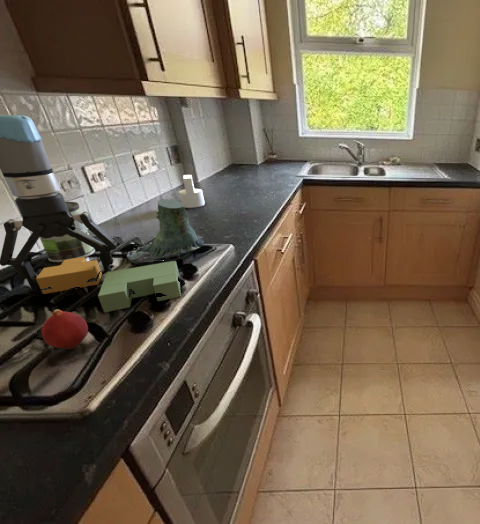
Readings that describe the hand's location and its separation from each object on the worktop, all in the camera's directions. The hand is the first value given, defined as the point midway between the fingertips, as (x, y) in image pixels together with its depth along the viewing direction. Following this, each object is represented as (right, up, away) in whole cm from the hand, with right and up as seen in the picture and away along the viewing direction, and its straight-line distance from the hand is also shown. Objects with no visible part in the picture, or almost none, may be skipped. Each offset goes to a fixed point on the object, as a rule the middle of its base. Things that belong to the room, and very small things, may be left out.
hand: (75, 283), depth 79 cm
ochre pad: (-1, +1, +1) cm, 2 cm away
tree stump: (+12, +8, +18) cm, 23 cm away
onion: (+18, -10, -20) cm, 29 cm away
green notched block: (+19, -2, -3) cm, 19 cm away
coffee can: (-14, +7, +15) cm, 22 cm away
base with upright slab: (-6, +30, +63) cm, 70 cm away
